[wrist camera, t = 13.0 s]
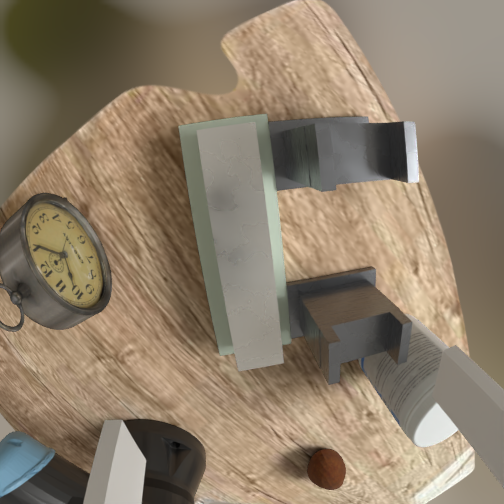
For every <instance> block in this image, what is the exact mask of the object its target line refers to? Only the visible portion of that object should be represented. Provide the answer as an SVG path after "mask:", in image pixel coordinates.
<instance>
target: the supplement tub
mask: <svg viewBox="0 0 504 504" xmlns="http://www.w3.org/2000/svg"><path fill="white" fill-rule="evenodd" d="M405 315H406V316H407V317H408V318H409V319H410V320H411V321H412V330H411V337H410V344H409V350H408V357H407V362H405V363H402V364H399V365H397V364H396V363H395V361H394V360H393V359H392V358H391V357H390V355H389V354H388V353H387V352H386V351H385V352H381V353H378V354H375V355H371V356H367V357H364V358H360V359H358V360H359V365H360V367H361V369H362V370H363V372H364V373H365V375H366V377H367V378H368V379H369V381H370V382H371V384H372V385H373V387H374V388H375V390H376V391H377V393H378V394H379V396H380V397H381V399H382V400H383V402H384V403H385V405H386V406H387V408H388V409H389V411H390V412H391V414H392V415H393V417H394V418H395V420H396V421H397V423H398V424H399V426H400V427H401V428H402V430H403V431H404V433H405V434H406V435H407V437H408V438H410V439H411V441H412V442H413V443H414V444H415V445H416V446H418V447H428V446H432V445H435V444H437V443H439V442H441V441H443V440H445V439H447V438H448V437H450V436H451V435H452V434H454V433H455V432H456V431H458V430H459V429H458V428H457V427H456V426H455V424H454V423H453V422H452V421H451V419H450V418H449V417H448V416H447V414H446V413H445V412H444V411H443V410H442V408H441V407H440V406H439V405H438V403H437V402H436V401H435V400H434V398H433V397H432V394H433V390H434V386H435V383H436V379H437V375H438V370H439V366H440V362H441V357H442V352H443V350H446V349H448V348H449V347H448V346H447V345H446V344H445V343H444V342H443V341H441V340H440V339H439V338H438V337H437V336H436V335H435V334H434V333H433V332H431V331H430V330H429V329H428V328H427V327H426V326H425V325H423V324H422V323H421V322H420V321H419V320H418V319H416V318H415V317H414V316H412V315H409V314H405Z"/></svg>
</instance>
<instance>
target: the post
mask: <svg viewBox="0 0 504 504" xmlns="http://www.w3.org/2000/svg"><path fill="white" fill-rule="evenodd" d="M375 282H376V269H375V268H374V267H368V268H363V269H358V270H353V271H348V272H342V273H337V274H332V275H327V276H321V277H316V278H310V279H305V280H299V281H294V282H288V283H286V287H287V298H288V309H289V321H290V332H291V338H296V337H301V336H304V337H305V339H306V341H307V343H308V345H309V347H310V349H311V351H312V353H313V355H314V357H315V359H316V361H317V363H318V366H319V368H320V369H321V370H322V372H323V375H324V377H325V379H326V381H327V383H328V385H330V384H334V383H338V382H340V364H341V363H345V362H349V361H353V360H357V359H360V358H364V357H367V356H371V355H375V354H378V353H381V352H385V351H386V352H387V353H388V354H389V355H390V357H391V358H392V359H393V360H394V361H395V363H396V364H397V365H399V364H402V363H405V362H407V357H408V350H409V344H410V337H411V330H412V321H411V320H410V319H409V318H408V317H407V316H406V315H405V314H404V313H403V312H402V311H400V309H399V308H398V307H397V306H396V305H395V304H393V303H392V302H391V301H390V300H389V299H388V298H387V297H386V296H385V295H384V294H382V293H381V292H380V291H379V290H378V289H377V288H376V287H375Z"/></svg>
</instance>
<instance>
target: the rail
mask: <svg viewBox="0 0 504 504" xmlns="http://www.w3.org/2000/svg"><path fill="white" fill-rule="evenodd" d="M196 131H197V138H198V144H199V151H200V158H201V165H202V171H203V178H204V184H205V191H206V197H207V203H208V209H209V215H210V222H211V228H212V233H213V239H214V245H215V251H216V257H217V262H218V268H219V274H220V279H221V285H222V290H223V296H224V301H225V306H226V312H227V317H228V322H229V327H230V332H231V338H232V343H233V348H234V353H235V358H236V363H237V367H238V371H244V370H250V369H255V368H261V367H266V366H272V365H277V364H282V363H284V358H283V349H282V339H281V330H280V320H279V311H278V302H277V293H276V284H275V275H274V267H273V258H272V249H271V241H270V233H269V224H268V216H267V208H266V200H265V192H264V184H263V176H262V168H261V161H260V153H259V145H258V138H257V130H256V123H255V122H251V123H243V124H235V125H228V126H221V127H214V128H207V129H201V130H196Z"/></svg>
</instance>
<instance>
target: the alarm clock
mask: <svg viewBox="0 0 504 504" xmlns="http://www.w3.org/2000/svg"><path fill="white" fill-rule="evenodd" d="M0 276H1V279H2V281H3V284H1V283H0V288H3V289H5V290H7V292H8V294H9V295H10V299H11V301H12V303H13V304H15V305H17V307H18V308H19V309H20V312H21V320H20V323H19V324H18V325H17V326H15V327H10V326H7V325H5V324H3V323H2V322H1V321H0V327H1V328H3V329H5V330H7V331H12V332H16V331H18V330H20V329H21V327H22V325H23V323H24V314H25V315H26V316H28V317H29V318H30V319H31V320H33V321H34V322H36V323H38V324H40V325H42V326H44V327H47V328H50V329H56V330H63V329H69V328H72V327H74V326H76V325H77V324H79V323H81V322H83V321H85V320H86V319H88V318H90V317H92V316H94V315H95V314H98V313H100V312H101V311H102V310H104V308H105V307H106V306H107V304H108V302H109V300H110V297H111V291H112V278H111V270H110V266H109V262H108V259H107V256H106V253H105V251H104V248H103V246H102V244H101V242H100V240H99V238H98V236H97V234H96V233H95V231H94V229H93V228H92V226H91V225H90V223H89V222H88V221H87V219H86V218H85V217H84V216H83V215H82V214H81V213H80V212H79V210H78V209H77V208H75V207H74V206H73V205H72V204H71V203H69V202H68V201H67V198H62V197H60V196H58V195H55V194H50V193H40V194H37V195H34V196H33V197H31V198H30V199H29V200H28V201H27V202H26V203H25V204H24V205H23V206H22V207H21V208H20V209H19V210H18V211H17V212H16V213H15V214H13V215H12V216H11V217H10V218H9V219H8V220H7V221H6V223H5V224H4V226H3V227H2V229H1V231H0Z"/></svg>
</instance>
